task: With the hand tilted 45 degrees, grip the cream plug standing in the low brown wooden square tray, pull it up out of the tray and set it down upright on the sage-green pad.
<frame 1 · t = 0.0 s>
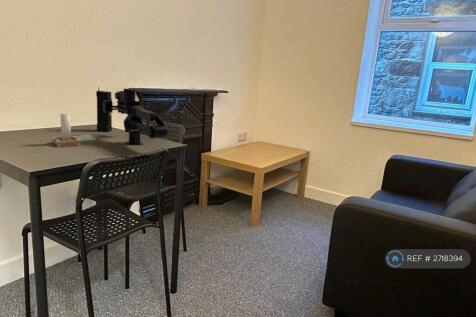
hand: (115, 104, 190), 17 cm above the table, tool horizontal, fingers open, 9 cm apart
brown wooden square tray: (66, 144, 162), on the table
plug: (65, 129, 161), in the brown wooden square tray
pad: (82, 138, 176), on the table
portable radio: (105, 131, 201), on the table
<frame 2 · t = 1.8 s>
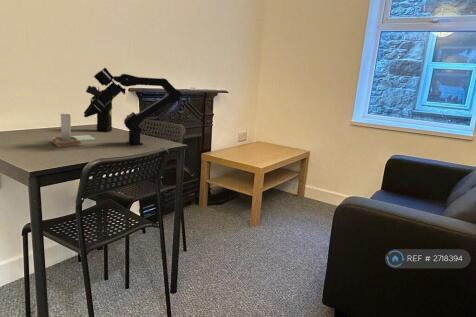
hand: (84, 115, 163), 14 cm above the table, tool tilted 45°, fingers open, 9 cm apart
nothing on the table moved.
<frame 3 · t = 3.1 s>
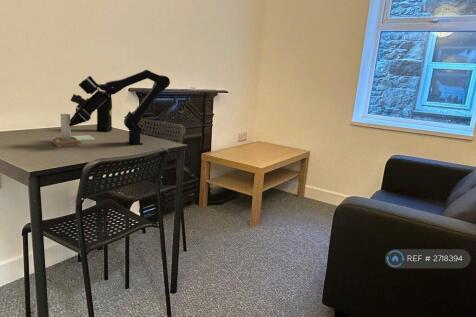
hand: (69, 124, 161), 9 cm above the table, tool tilted 45°, fingers open, 9 cm apart
nothing on the table moved.
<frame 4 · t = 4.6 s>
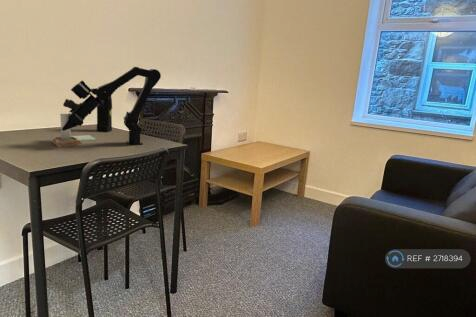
hand: (62, 129, 160), 7 cm above the table, tool tilted 45°, fingers closed on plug, 4 cm apart
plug: (65, 129, 161), in the brown wooden square tray, touching gripper
everything else where it was.
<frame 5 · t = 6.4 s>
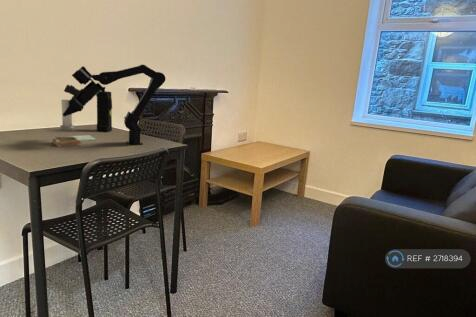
hand: (63, 114, 160), 13 cm above the table, tool tilted 45°, fingers closed on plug, 4 cm apart
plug: (67, 115, 161), point 13 cm above the table, touching gripper
everything else where it was.
when the fingers open (9 cm above the table, at t = 8.6 s): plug drops 1 cm, resting on pad.
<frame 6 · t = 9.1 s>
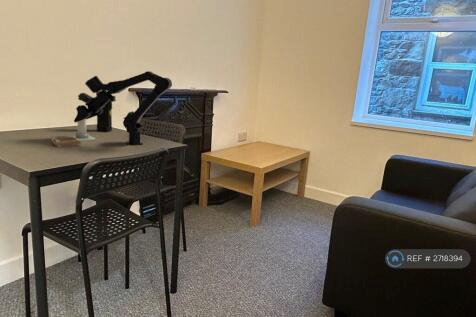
hand: (79, 120, 174), 9 cm above the table, tool tilted 45°, fingers open, 9 cm apart
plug: (81, 123, 174), on the pad, point 8 cm above the table
everything else where it was.
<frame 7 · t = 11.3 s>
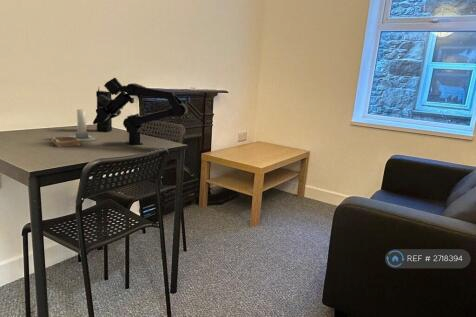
hand: (97, 122, 174), 9 cm above the table, tool tilted 45°, fingers open, 9 cm apart
nothing on the table moved.
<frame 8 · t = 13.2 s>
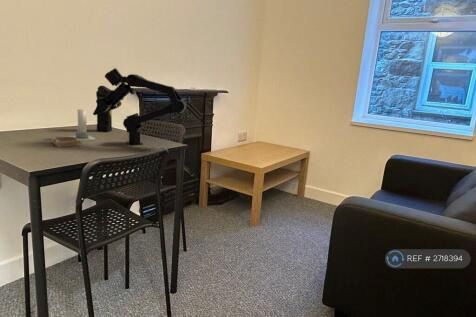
hand: (97, 113, 173), 14 cm above the table, tool tilted 45°, fingers open, 9 cm apart
nothing on the table moved.
at the end: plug inside the target area on the pad (0.0 cm from its centre), point 7.7 cm above the pad's base; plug tilted 1°; the gripper is holding nothing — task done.
